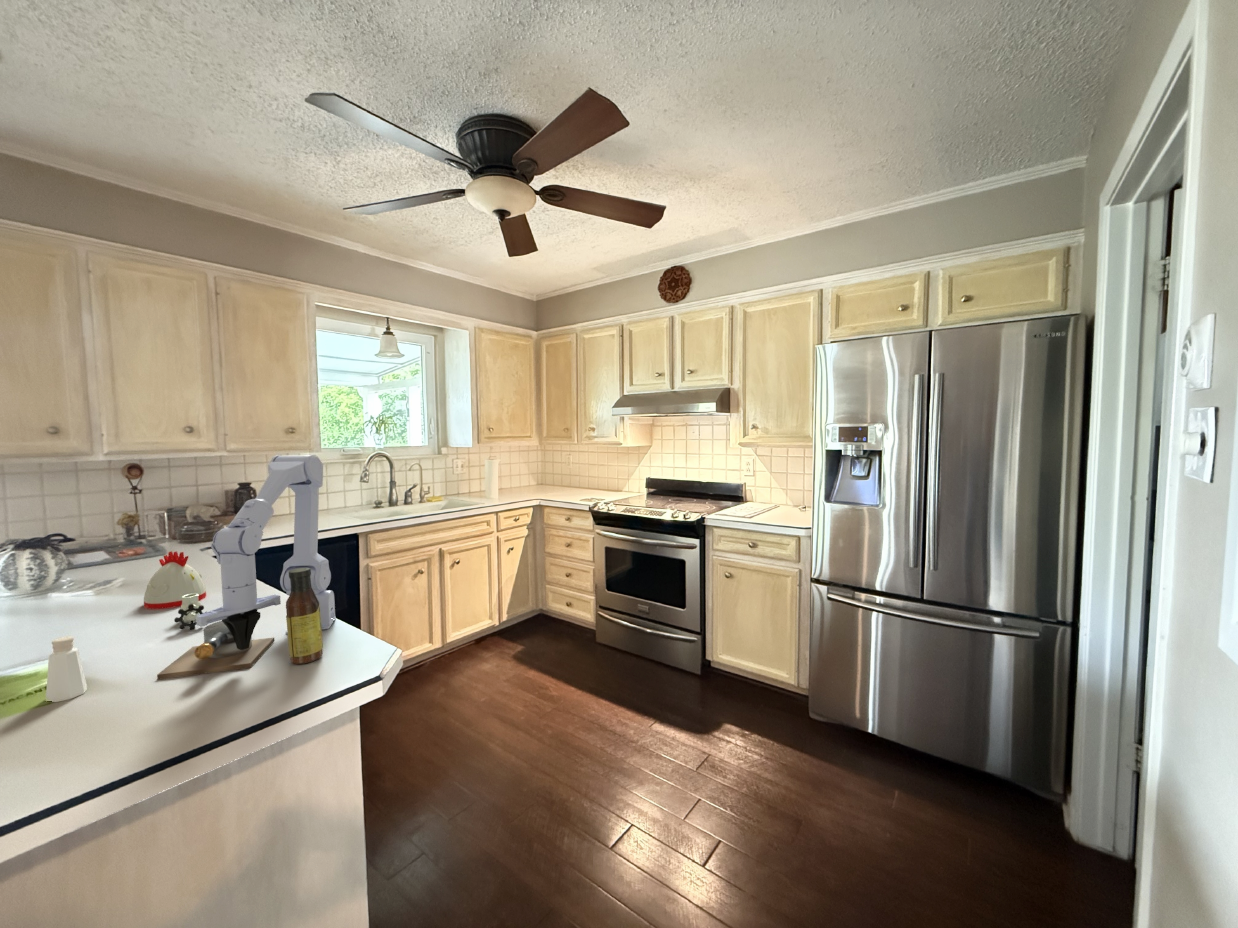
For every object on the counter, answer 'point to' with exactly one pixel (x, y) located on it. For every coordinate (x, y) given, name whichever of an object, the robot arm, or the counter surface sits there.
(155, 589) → the white and red dome
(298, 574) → the sauce bottle
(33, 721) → the counter surface
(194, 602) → the valve
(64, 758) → the counter surface
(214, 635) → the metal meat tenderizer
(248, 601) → the robot arm
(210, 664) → the thin wooden panel
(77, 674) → the pepper shaker
